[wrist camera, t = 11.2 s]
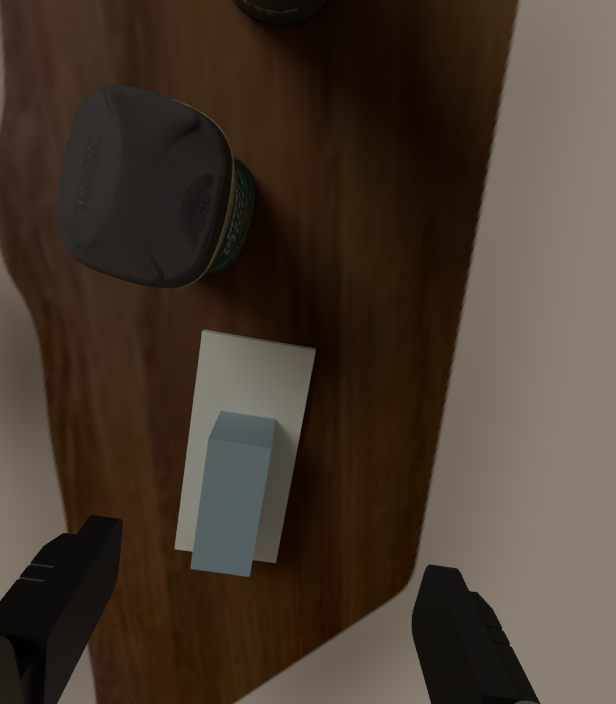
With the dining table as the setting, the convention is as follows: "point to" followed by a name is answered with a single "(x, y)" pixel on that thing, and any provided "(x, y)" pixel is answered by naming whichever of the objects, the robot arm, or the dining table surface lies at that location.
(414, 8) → the dining table surface
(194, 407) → the board
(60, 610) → the robot arm
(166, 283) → the coffee jar
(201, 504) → the block
